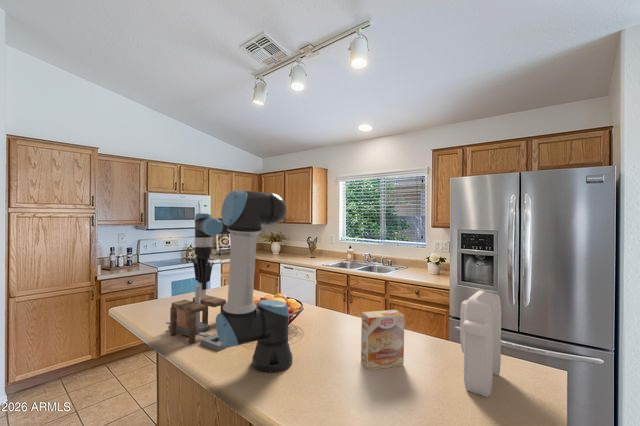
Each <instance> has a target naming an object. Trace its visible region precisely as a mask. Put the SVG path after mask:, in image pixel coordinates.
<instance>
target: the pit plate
mask: <svg viewBox="0 0 640 426" xmlns="http://www.w3.org/2000/svg"><path fill="white" fill-rule="evenodd" d="M209 335H210V336H208V337H205V336H204V337H202V338H200V345H203V346H204V347H208V348H211V349H212V350H216V351H218V352H220V351H221V350H224V349H226V348H227V347H225V346H223V345H222V343H221V341H220V339H219V337H218V334H217V332H216V333H214V334H209Z"/></svg>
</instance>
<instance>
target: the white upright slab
mask: <svg viewBox="0 0 640 426" xmlns="http://www.w3.org/2000/svg"><path fill="white" fill-rule="evenodd" d="M459 316H460V322H459V323H460V324H459V325H460V329H459V330H460V331H459V333H460V334H459V335H460V337H459V338H460V339H459V340H460V347H461V351H462V354H463V383H464V388H465V390H466V391H468V392H471V393H473V394H476V395H478V394H479V396H481V395H482V397H484V396H485V397H484V398H488V396H489V397H490V396H491V393H492V389H493V375H495V376H497V377H498V376H499V375H500V372H501V363H502V362H501V361H502V358H501V357H502V355H501V354H502V353H501V352H502V351H501V350H502V316H503V315H502V303H501V297H500V295H499V294H495V293H491V292H488V291H486V290H480V289H479V290H478V291H477V292H475V293H474V294H472V295H471V296H470V297H469V298H468V299H465V300H464V299H463V301H462V302H461V306H460V315H459Z"/></svg>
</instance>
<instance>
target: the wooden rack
mask: <svg viewBox="0 0 640 426" xmlns="http://www.w3.org/2000/svg"><path fill="white" fill-rule="evenodd" d="M226 302H227V299H224V298H220V297H216V296H212V295H207V294H206V296H204V297H200V303H196V302H195V296H194V297H192V300H188V299H182V300H178V301H173V302H171V307H170V312H169V313H170V315H169V316H170V320H168V321H165V323H166V324H169V325H170V329H169V330H170V331H169V337H176V336H177V333H178V332H177V309H179V310H182V311H185V312H189V334H188V336H187V337H188V343H187V344H190V345H192V344H195V343H196V335H200V336H202V337H204V338H205V337H208V336H210V335H211V334H208V333H205V332H204V331H202V332H199V333H196V334H195V327H196V313H197V312H200V313H201V322H202V323H205V324H208V325H209V307H211V308H217V307H220V313H222V312H223V305H224V304H225V303H226Z"/></svg>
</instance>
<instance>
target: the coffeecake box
mask: <svg viewBox="0 0 640 426" xmlns="http://www.w3.org/2000/svg"><path fill="white" fill-rule="evenodd" d="M360 335H361V337H360V338H361V339H360V343H361V344H360V347H361V348H360V363H361V364H362V365H363V366H364V368H365V369H366V370H367V371H368V370H369V371H375V370H374V369H376V370H381V369H382V368H383V369H391V368H397V366H399V367H403V366H404V361H405V360H404V358H405V357H404V355H405V354H404V351H405V348H404V347H405V314H403V312H400V311H398V310H397V309H390V310H389V309H388V310H387V309H386V310H378V311H377V310H375V311H374V310H373V311H361V333H360ZM390 367H391V368H390Z"/></svg>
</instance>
